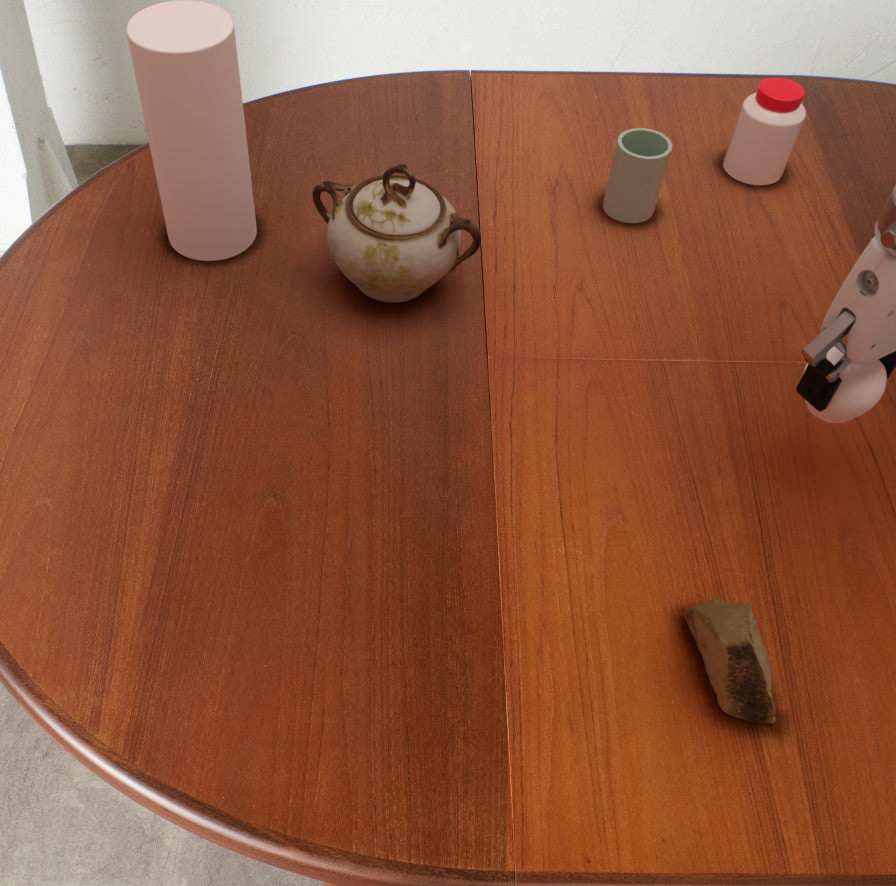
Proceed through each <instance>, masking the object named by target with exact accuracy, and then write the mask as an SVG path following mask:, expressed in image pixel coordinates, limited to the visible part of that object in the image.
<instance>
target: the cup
mask: <svg viewBox="0 0 896 886" xmlns="http://www.w3.org/2000/svg"><path fill="white" fill-rule="evenodd" d="M672 152H673V143H672V141H671V139H670V138H669V136H667V135H665V134H664V133H663V132H660V131H658V130H656V129H652V128H645V127H634V128H630V129H626V130H624V131H623V132H621V133H620V134H619V135H618V136H617V141H616V146H615V149H614V154H613V158H612V163H611V166H610V170H609V176H608V180H607V184H606V187H605V192H604V196H603V200H602V209H603V211H604V213H605V214H606V215H607V216H608V217H610V218H611V219H613V220H615V221H618V222H620V223H624V224H639V223H643V222H646V221H648V220H649V219H651V218H652V216H653V215H654V212H655V210H656V206H657V203H658V199H659V196H660V193H661V189H662V185H663V182H664V179H665V176H666V171H667V169H668V164H669V161H670V158H671V154H672Z"/></svg>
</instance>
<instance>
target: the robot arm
mask: <svg viewBox="0 0 896 886" xmlns="http://www.w3.org/2000/svg"><path fill="white" fill-rule="evenodd" d="M873 231H874V236H873V237H871V240H869V242H868V244H867V246H866V247H865V248H864V250H863V251H862V253H861V254H860V255H859V257H858V258H857V260H856V262H855V263H854V265H853V267H852V268H851V269H850V271H849V273H848V275H846V277H845V279H844V281H843V282H842V284H841V285H840V288H839V290H838V291H837V293H836V295H835V297H834V298H833V300H832V302H831V303H830V305H829V307H828V310H827V312H826V314H825V316H824V319H823V320H822V324H821V326H820V332H819V334H817V336H815V337H814V338H813V339H812V340H811V341H810V342H809V343H808V344H807V345H805V346H804V348H803V349H802V350H801V354H802V356H803V358H804V360H805V362H806V364H807V363H808V366H807V368H806V370H805V372H804V371H803V372H804V374H803V373H802V375H803V376H801V378H800V380H799V382H798V384H797V385H796V388H795V390H796V392H797V394H798V395H799V396H800V397H802V398H803V400H804V399H805V400H806V401H807V402H808V403H810V404H811V405H812V406H813V407H814V408H815V409H816V410H817V411H819V412H821V411H823V410H825V409H826V408H827V406H828V404H829V403H830V401H831V399H832V397H833V396H834V394H835V392H836V390H837V389H838V387H839V385H840V383H841V382H842V379H841V378H840V377H839V376H840V375H841V374H842V373H843V372H844V370H845V369H846V368H847V367H848V366H849V365H850V364H851V362H853V363H854V364H856V365H863V364H868V363H871V362H873V361H875V360H878V359H879V360H880V361H881V363H882V364H883V365H884V367H885V370H886V375H887V379H889V378H890V376H891V375H892V374H893V372H894V370H895V369H896V183H895V185H894V187H893V189H892V190H891V192H890V195H889V196H888V198H887V201H886V202H885V204H884V206H883V208H882V210H881V212H880V214H879V216H878V217H877V220H876V222H875V224H874V230H873ZM846 336H847V338H846V341H845V340H844V338H845V337H846ZM834 346H835V347H836V348H837V349H838V350H840V351H841V352H842V353H843V354H844V355H843V356H842V357H841V359H840V360H839V361H838V362H837V363H836V364H835V366H834V365H833V364H832V363H831V362H830V361H829V360H828V359H827V358H826V354H827V353H828V351H829V350H830V349H831V348H833V347H834ZM805 400H804V401H805Z"/></svg>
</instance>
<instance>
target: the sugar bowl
mask: <svg viewBox="0 0 896 886" xmlns="http://www.w3.org/2000/svg"><path fill="white" fill-rule="evenodd" d="M323 192H326V193H328V194H329V195H330V196H331V199H332V201H333V202H332V203H333V206H332V212H331V213H330V211H328V209H327V208H326V206H325V204H324V202H323V200H322V199H321V195H322V193H323ZM338 192H341V193H343V194H344V195H343V196H342V197H340V195H339V193H338ZM311 195H312V200H313V204H314V206H315V208H316V210H317V213H319V215H320V216H321V218H322V219H323V220H324V221H325V222H326V224H327V229H326V232H327V233H326V237H327V239H326V240H327V244H328V248H329V249H328V250H329V253H330V255H331V257H332V259H333V261H334V263H335V264H336V266H337V267H338V269H339V270H340V272H341V273H342V274H343V275H344V276H345V278H347V279H348V280H349V281H350V282H351V283H352V284H354V285H355V286H356V287H357V288H358V289H359V291H361V292H362V294H364V295H366V296H367V297H369V298H371V299H373V300H376V301H379V302H382V303H392V304H393V303H395V304H396V303H404V302H407V301H411V300H413V299H416V298H417V297H419V296H420V295H421V294H422V293H423V292H425V291H426V290H427V289H429V288H431V287H432V286H433V285H435V284H436V283H437V282H438V281H440V280H441V279H442V278H443V277H444V276H445V275H448V274H450V273H452V272H454V270H455V269H456V268H457V267H458V266H460V265H461V264H462V263H463V262H464V261H466V260H467V259H469V258H472V256H474V255H475V254H476V253H477V252H478V251H479V249H480V247H481V244H482V236H481V232H480V230H479V228H478V227H477V225H476V224H475V223H474V221H472V219H468V218H465V217H464V218H463V217H460V216H459V214H458V213H457V211H456V209H455V208H454V207H453V205H452V204H451V203H450V201H449V200H448V199H447V198H446V196H444V195H443V194H442V193H440V192H439V190H437V189H436V188H435V187H434V186H432V185H431V184H429V183H428V182H426V181H424V180H421V179H419V178H416V177H415V174H414V173H413V171H412V170H411V169H410V168H409V166H408V165H407V164H405V163H398V164H396V165H393V166H391V167H389V168H387V169H386V170H385V171H384V173H383V174H382V175H375V176H373V177H370V178H367V179H365V180H363V181H361V182H359V184H354V183H353V184H342V183H338V182H333V181H329V180H323V181H321V182H319V183H318V184H316V185H315V187H313V190H312V194H311ZM462 231H465V232H467V233H469V234H470V236H471V238H472V242H471V244H470V246H468V248H466V249H465V250H464V251H462V252H460V249H461V245H462V244H461V243H462Z"/></svg>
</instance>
